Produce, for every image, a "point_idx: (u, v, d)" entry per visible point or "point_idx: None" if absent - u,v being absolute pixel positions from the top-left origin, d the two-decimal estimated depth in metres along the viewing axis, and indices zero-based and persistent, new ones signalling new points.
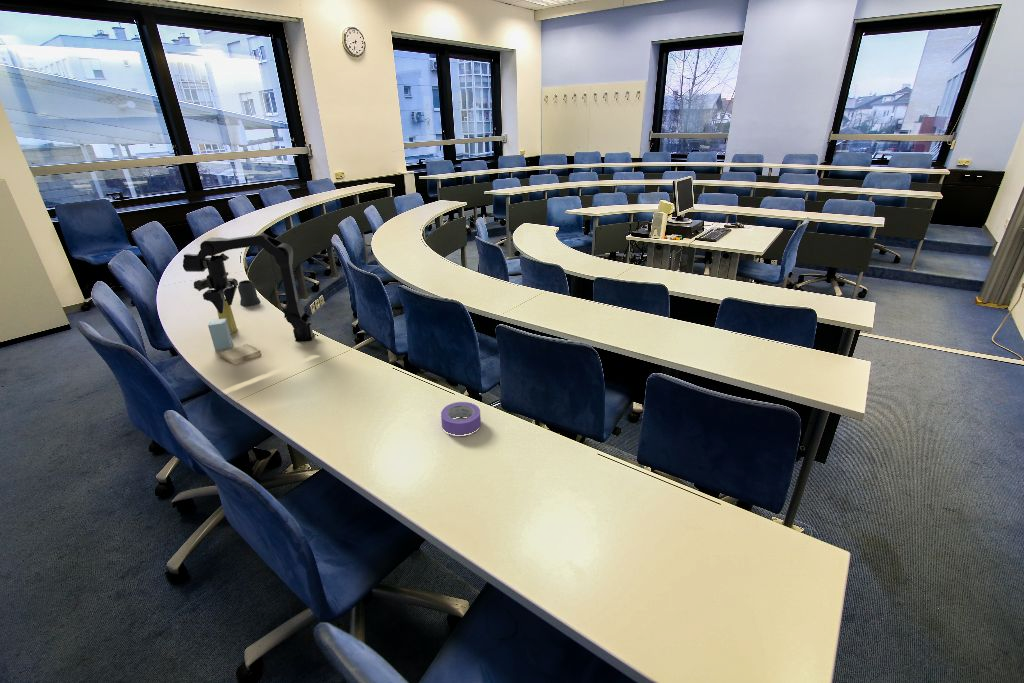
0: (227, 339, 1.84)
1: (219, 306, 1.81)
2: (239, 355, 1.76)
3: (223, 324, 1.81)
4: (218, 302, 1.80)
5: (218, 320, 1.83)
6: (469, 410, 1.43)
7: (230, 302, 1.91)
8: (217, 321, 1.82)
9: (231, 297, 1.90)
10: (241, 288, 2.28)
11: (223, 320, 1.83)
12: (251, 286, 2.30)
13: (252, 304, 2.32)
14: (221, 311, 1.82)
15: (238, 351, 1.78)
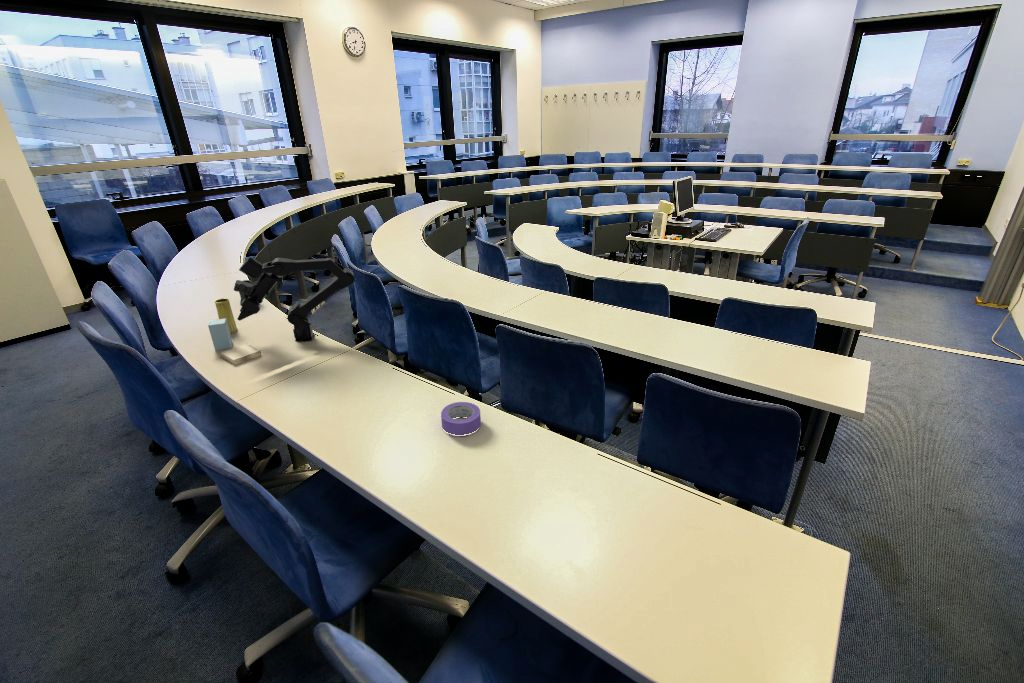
0: (227, 339, 1.84)
1: (244, 315, 1.80)
2: (239, 355, 1.75)
3: (223, 324, 1.81)
4: (247, 311, 1.80)
5: (218, 320, 1.83)
6: (469, 410, 1.43)
7: None
8: (217, 321, 1.82)
9: None
10: None
11: (223, 320, 1.83)
12: None
13: None
14: (241, 319, 1.80)
15: (238, 351, 1.78)
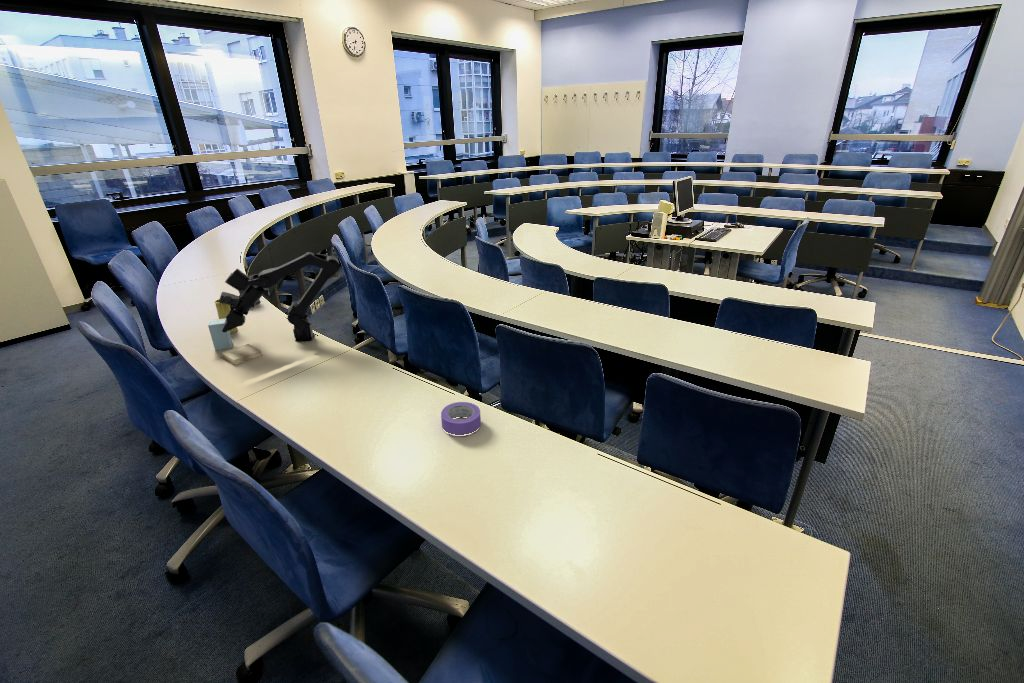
0: (227, 339, 1.84)
1: (229, 327, 1.79)
2: (239, 355, 1.75)
3: (223, 324, 1.81)
4: (232, 323, 1.79)
5: (218, 320, 1.83)
6: (469, 410, 1.43)
7: None
8: (217, 321, 1.82)
9: None
10: None
11: (223, 320, 1.83)
12: None
13: None
14: (225, 331, 1.80)
15: (239, 351, 1.78)
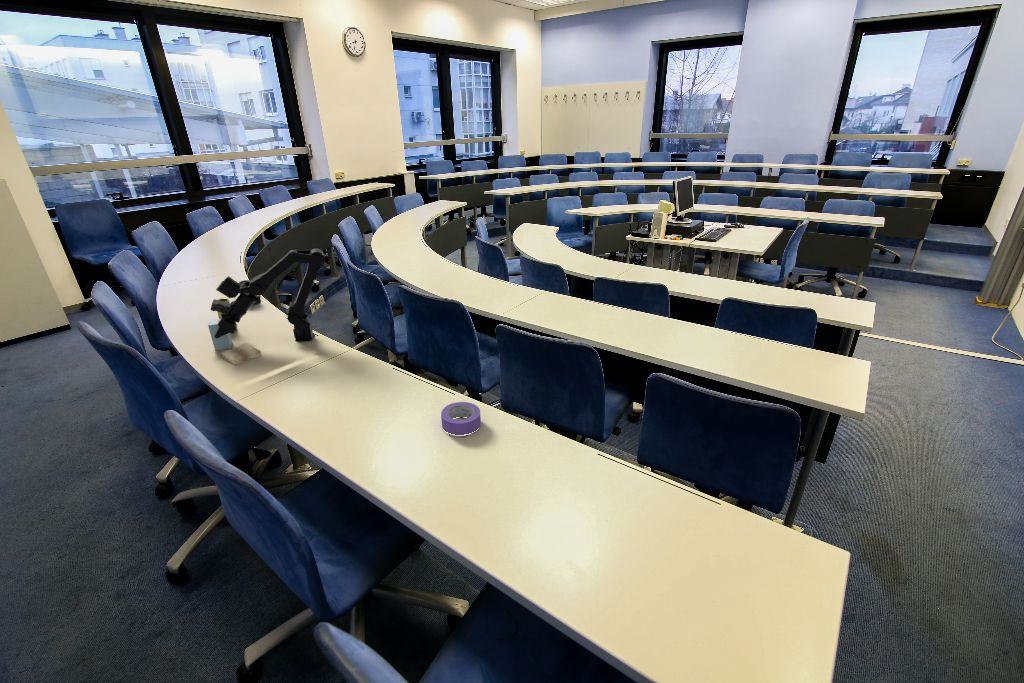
0: (227, 339, 1.84)
1: (221, 333, 1.81)
2: (239, 355, 1.76)
3: None
4: (224, 329, 1.80)
5: (218, 320, 1.83)
6: (469, 410, 1.43)
7: None
8: (217, 321, 1.82)
9: None
10: None
11: None
12: None
13: None
14: (218, 336, 1.81)
15: (238, 351, 1.78)
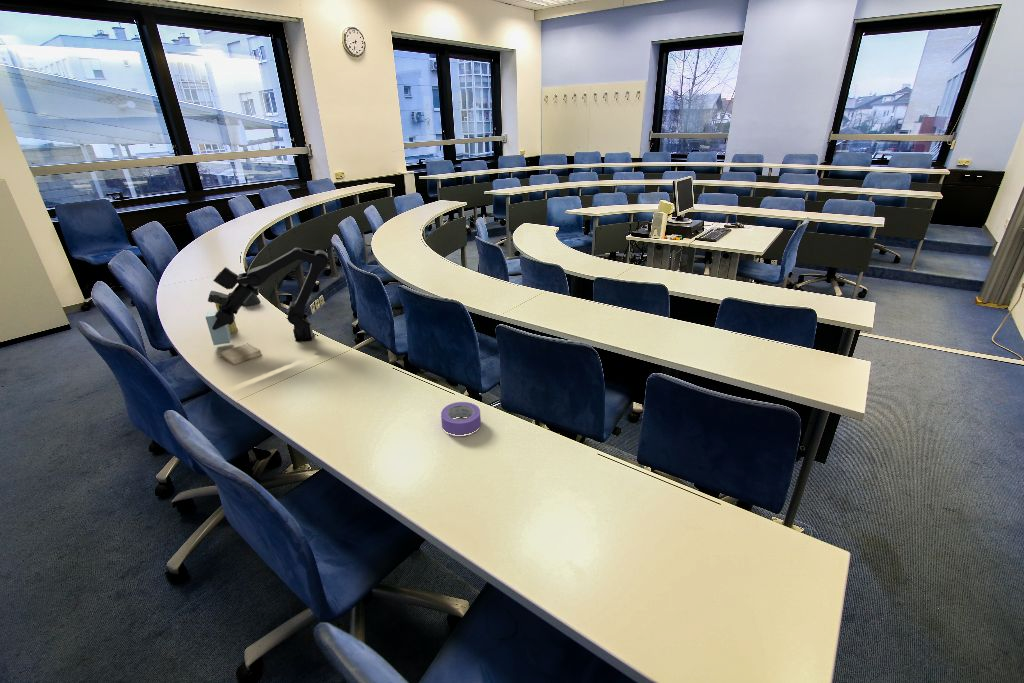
0: (225, 331, 1.82)
1: (219, 324, 1.79)
2: (239, 354, 1.76)
3: None
4: (221, 321, 1.79)
5: None
6: (469, 410, 1.43)
7: None
8: (214, 313, 1.81)
9: None
10: None
11: None
12: None
13: (252, 304, 2.32)
14: (215, 328, 1.80)
15: (238, 351, 1.78)
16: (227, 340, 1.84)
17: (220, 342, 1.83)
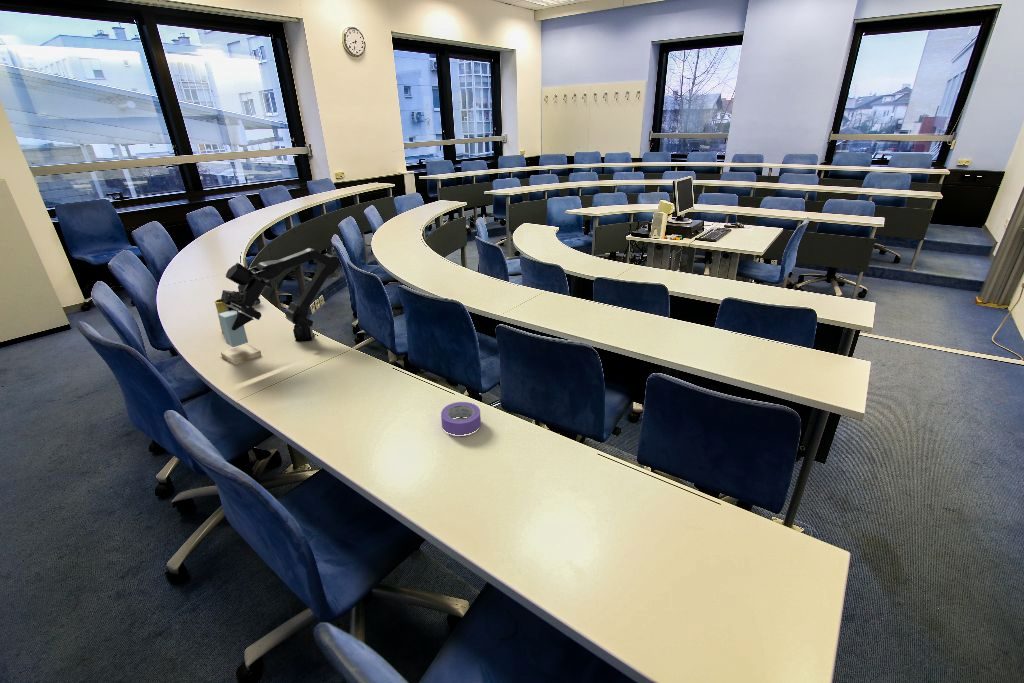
0: (243, 330, 1.75)
1: (240, 323, 1.72)
2: (239, 355, 1.75)
3: None
4: (242, 319, 1.72)
5: (228, 312, 1.73)
6: (469, 410, 1.43)
7: None
8: (229, 313, 1.72)
9: None
10: (241, 288, 2.28)
11: (234, 311, 1.74)
12: None
13: None
14: (236, 328, 1.72)
15: (238, 351, 1.78)
16: (246, 339, 1.77)
17: (239, 343, 1.75)
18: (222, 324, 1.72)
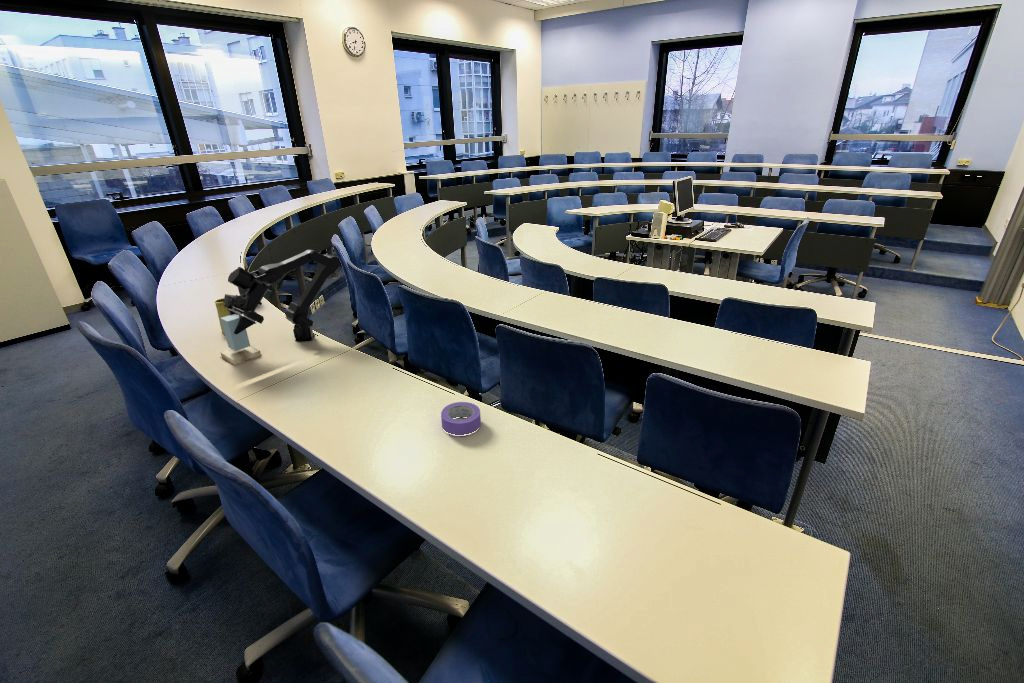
0: (246, 334, 1.76)
1: (242, 327, 1.73)
2: (239, 355, 1.75)
3: None
4: (245, 323, 1.73)
5: (230, 316, 1.73)
6: (469, 410, 1.43)
7: None
8: (231, 317, 1.73)
9: None
10: None
11: (236, 315, 1.74)
12: None
13: None
14: (238, 332, 1.72)
15: (238, 351, 1.78)
16: (248, 343, 1.77)
17: (241, 347, 1.76)
18: (224, 328, 1.73)
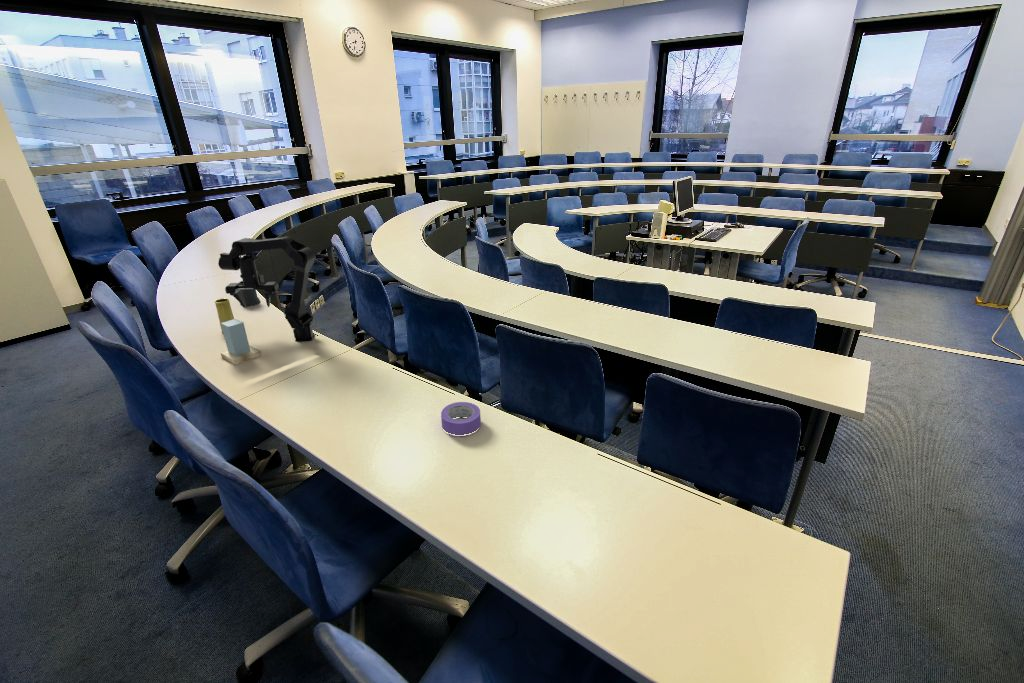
0: (246, 339, 1.77)
1: None
2: (239, 355, 1.76)
3: (242, 323, 1.74)
4: None
5: (231, 321, 1.74)
6: (469, 410, 1.43)
7: None
8: (231, 322, 1.74)
9: None
10: None
11: (236, 320, 1.75)
12: None
13: (252, 304, 2.32)
14: None
15: None
16: (248, 348, 1.78)
17: (242, 352, 1.77)
18: (225, 333, 1.74)
